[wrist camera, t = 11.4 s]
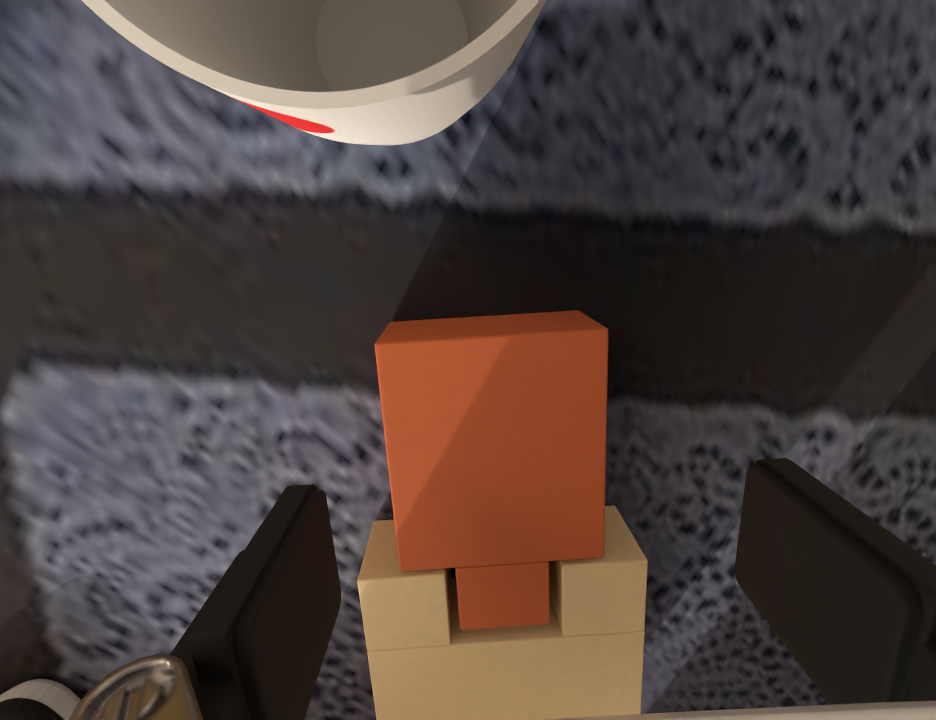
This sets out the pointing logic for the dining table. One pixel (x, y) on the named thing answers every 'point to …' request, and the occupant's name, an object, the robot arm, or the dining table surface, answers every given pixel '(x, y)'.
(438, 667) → the notch pad
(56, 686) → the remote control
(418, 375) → the tab pad
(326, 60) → the cup
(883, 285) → the dining table surface
